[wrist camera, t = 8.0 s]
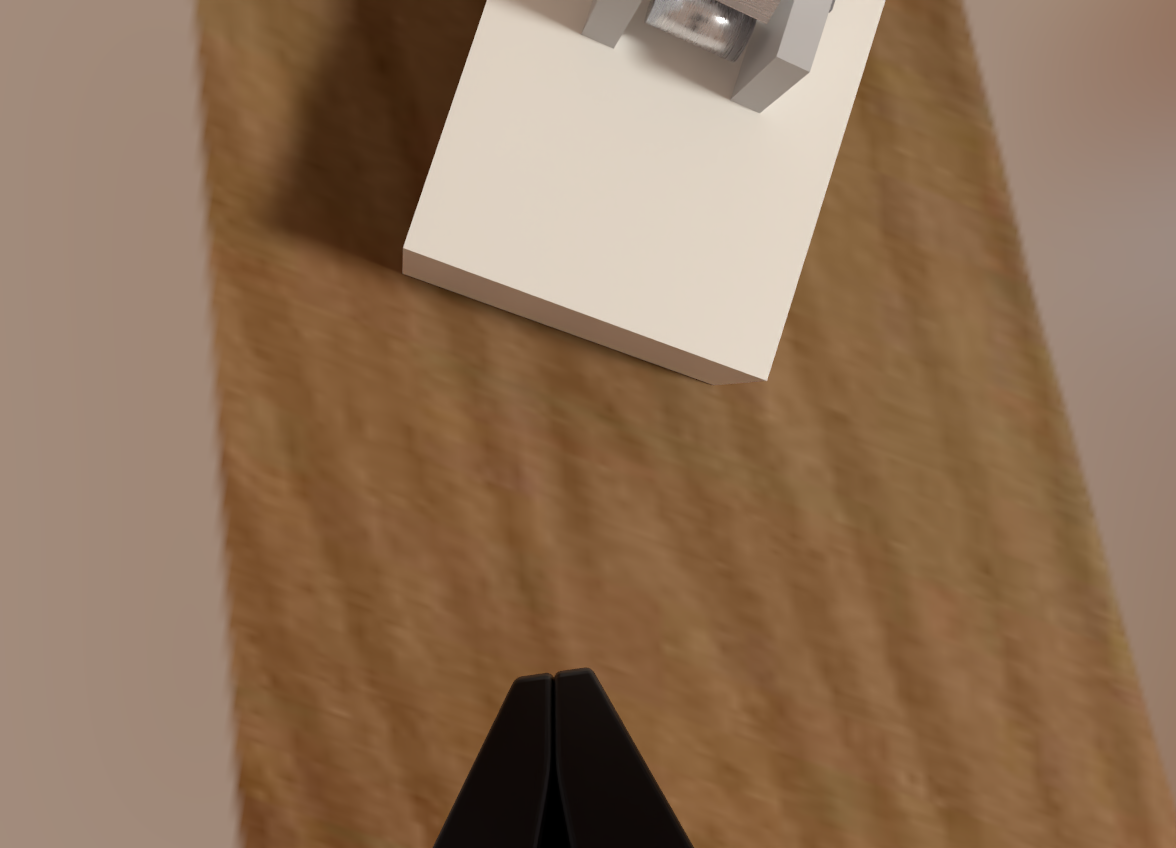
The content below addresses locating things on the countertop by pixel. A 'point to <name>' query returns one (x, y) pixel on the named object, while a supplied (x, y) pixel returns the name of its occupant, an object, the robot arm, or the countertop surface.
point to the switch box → (641, 175)
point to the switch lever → (711, 22)
